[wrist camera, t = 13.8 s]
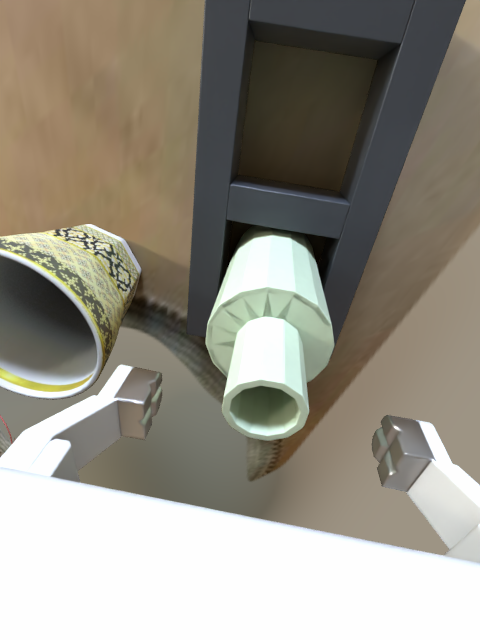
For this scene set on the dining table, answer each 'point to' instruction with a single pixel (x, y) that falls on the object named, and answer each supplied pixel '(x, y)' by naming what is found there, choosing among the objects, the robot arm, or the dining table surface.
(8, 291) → the ceramic cup
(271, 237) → the bottle
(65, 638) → the robot arm
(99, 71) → the dining table surface
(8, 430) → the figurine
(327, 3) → the holder
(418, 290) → the dining table surface
